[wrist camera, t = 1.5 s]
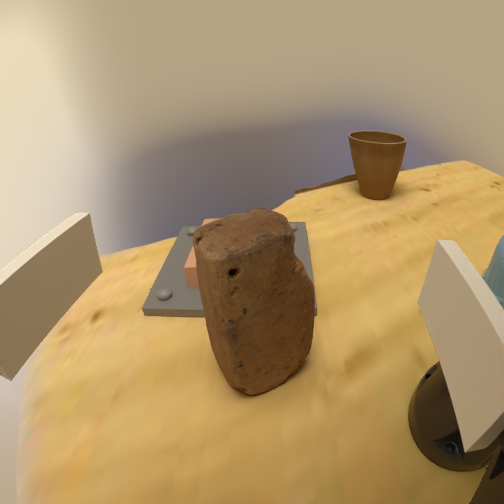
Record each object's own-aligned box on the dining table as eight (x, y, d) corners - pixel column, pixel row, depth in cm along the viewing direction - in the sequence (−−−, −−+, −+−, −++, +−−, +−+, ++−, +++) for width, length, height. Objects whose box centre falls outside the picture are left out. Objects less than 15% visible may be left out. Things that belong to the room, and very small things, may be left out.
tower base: (305, 228, 66) (304, 204, 63) (316, 316, 45) (318, 286, 42) (184, 232, 69) (179, 210, 66) (144, 315, 47) (134, 287, 44)
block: (235, 406, 33) (202, 261, 22) (213, 362, 39) (179, 220, 28) (317, 370, 36) (329, 222, 26) (288, 332, 42) (285, 193, 32)
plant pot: (385, 183, 86) (389, 130, 77) (411, 204, 73) (417, 143, 65) (339, 186, 85) (340, 130, 77) (359, 208, 73) (362, 143, 64)
